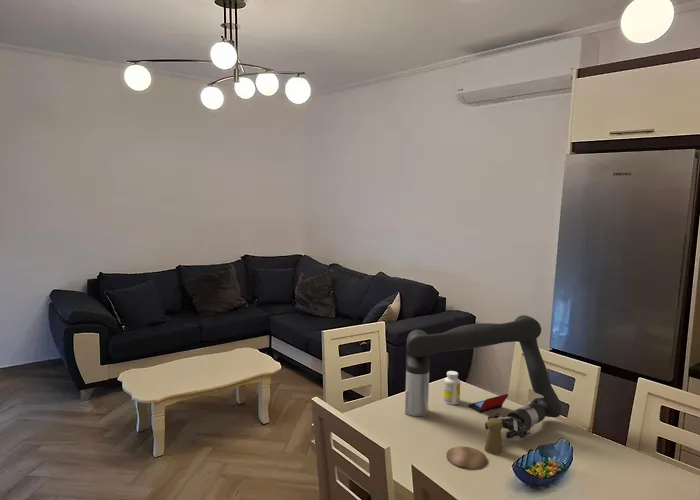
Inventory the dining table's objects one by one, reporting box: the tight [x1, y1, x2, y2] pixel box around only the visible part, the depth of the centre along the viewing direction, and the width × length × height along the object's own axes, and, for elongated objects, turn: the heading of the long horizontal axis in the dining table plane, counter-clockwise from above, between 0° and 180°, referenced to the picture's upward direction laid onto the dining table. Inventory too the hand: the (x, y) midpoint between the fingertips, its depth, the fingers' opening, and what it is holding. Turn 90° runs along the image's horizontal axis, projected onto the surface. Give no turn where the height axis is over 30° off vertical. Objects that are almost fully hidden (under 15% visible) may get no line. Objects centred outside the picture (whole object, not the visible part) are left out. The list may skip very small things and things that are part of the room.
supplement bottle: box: [443, 370, 461, 405], centre depth 210 cm, size 7×7×13 cm
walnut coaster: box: [446, 446, 487, 470], centre depth 165 cm, size 13×13×1 cm
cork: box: [484, 418, 504, 456], centre depth 170 cm, size 6×6×11 cm
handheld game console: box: [468, 393, 509, 414], centre depth 204 cm, size 12×11×7 cm
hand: (496, 431), depth 171 cm, fingers open, 8 cm apart
